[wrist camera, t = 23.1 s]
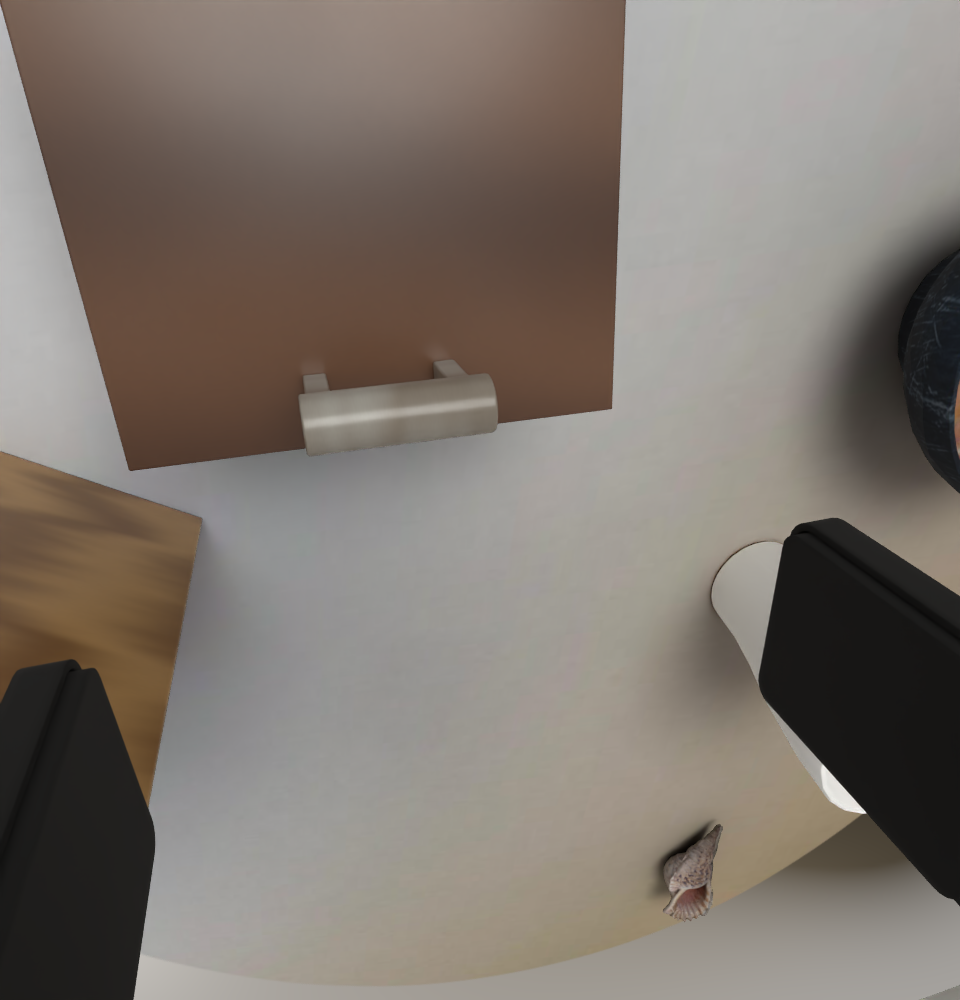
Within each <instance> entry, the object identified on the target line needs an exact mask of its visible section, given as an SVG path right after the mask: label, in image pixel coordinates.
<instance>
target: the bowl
mask: <svg viewBox="0 0 960 1000" xmlns="http://www.w3.org/2000/svg"><path fill="white" fill-rule="evenodd" d="M898 357H899V360H900V364H901V368H902V371H903V373H904V381H903V388H904V393H905V399H906V404H907V409H908V414H909V418H910V423H911V427H912V431H913V433H914V435H915V437H916V439H917V441H918V443H919V445H920V447H921V449H922V451H923V453H924V455H925V457H926V458H927V460H928V461H929V463H930V464H931V465H932V467H933V468H934V470H935V471H936V472H937V473H938V474H939V475H940V476H941V477H942V478H943V479H944V480H946V481H947V482H948V483H949V484H950V485H951V486H952V487H953V488H954V489H955V490H956V491H957V492H958V493H960V249H959V250H958V251H956V252H955V253H953V254H952V255H950V256H949V257H947V258H946V259H944V260H943V261H941V262H940V263H939V264H938V265H937V266H936V267H935V268H934V269H933V270H932V271H931V272H930V273H929V274H928V275H927V276H926V277H925V279H924V280H923V282H922V283H921V284H920V286H919V287H918V289H917V290H916V292H915V293H914V295H913V296H912V298H911V300H910V302H909V305H908V307H907V309H906V311H905V313H904V316H903V319H902V323H901V327H900V331H899V335H898Z"/></svg>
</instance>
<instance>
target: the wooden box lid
mask: <svg viewBox="0 0 960 1000" xmlns="http://www.w3.org/2000/svg"><path fill="white" fill-rule="evenodd" d="M0 4H1V8H2V12H3V15H4V19H5V22H6V26H7V30H8V33H9V37H10V41H11V44H12V48H13V51H14V55H15V59H16V62H17V66H18V70H19V73H20V77H21V80H22V84H23V88H24V91H25V95H26V98H27V102H28V106H29V109H30V113H31V117H32V120H33V124H34V127H35V131H36V135H37V138H38V142H39V146H40V149H41V153H42V156H43V160H44V164H45V167H46V171H47V175H48V178H49V182H50V185H51V189H52V193H53V196H54V200H55V203H56V207H57V211H58V214H59V218H60V222H61V225H62V229H63V232H64V236H65V240H66V243H67V247H68V251H69V254H70V258H71V261H72V265H73V269H74V272H75V276H76V280H77V283H78V287H79V290H80V294H81V298H82V301H83V305H84V309H85V312H86V316H87V319H88V323H89V327H90V330H91V334H92V337H93V341H94V345H95V348H96V352H97V356H98V359H99V363H100V366H101V370H102V374H103V377H104V381H105V385H106V388H107V392H108V395H109V399H110V403H111V406H112V410H113V414H114V417H115V421H116V424H117V428H118V432H119V435H120V439H121V442H122V446H123V450H124V453H125V457H126V461H127V464H128V468H129V470H130V471H134V470H141V469H149V468H157V467H165V466H172V465H180V464H188V463H196V462H203V461H211V460H219V459H227V458H235V457H242V456H250V455H258V454H266V453H273V452H281V451H289V450H297V449H304V448H306V452H307V455H308V456H316V455H324V454H332V453H339V452H347V451H355V450H362V449H370V448H377V447H385V446H393V445H400V444H408V443H416V442H423V441H431V440H438V439H446V438H454V437H461V436H469V435H476V434H484V433H492V432H494V431H495V430H496V428H497V424H499V423H506V422H514V421H522V420H530V419H537V418H545V417H553V416H561V415H569V414H576V413H584V412H592V411H600V410H607V409H612V391H613V361H614V331H615V302H616V272H617V242H618V213H619V183H620V153H621V124H622V94H623V64H624V35H625V5H626V0H0Z"/></svg>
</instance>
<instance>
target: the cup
mask: <svg viewBox="0 0 960 1000" xmlns="http://www.w3.org/2000/svg"><path fill="white" fill-rule="evenodd" d="M782 547H783V545H782V544H780V543H777V542H767V541H766V542H761V543H756V544H753V545H750V546H748V547H746V548H744V549H742V550H741V551H739V552H738V553H736V554H735V555H733V556H732V557H731V558H730V559H729V560H728V561H727V562H726V563H725V564H724V565H723V567H722V568H721V570H720V571H719V573H718V574H717V576H716V579H715V581H714V584H713V586H712V595H711V598H712V603H713V607H714V609H715V610H716V612H717V614H718V615H719V616H720V618H721V619H722V620H723V622H724V623H725V625H726V626H727V627H728V629H729V630H730V631H731V633H732V634H733V636H734V637H735V639H736V640H737V642H738V644H739V646H740V648H741V650H742V652H743V654H744V655H745V657H746V659H747V661H748V663H749V665H750V667H751V669H752V672H753V674H754V676H755V678H756V681H757V683H758V685H759V682H758V677H759V671H760V665H761V660H762V654H763V649H764V644H765V638H766V633H767V628H768V622H769V617H770V611H771V606H772V601H773V595H774V590H775V585H776V579H777V574H778V568H779V563H780V558H781V552H782ZM765 701H766V700H765ZM766 703H767V702H766ZM767 704H768V703H767ZM768 706H769V708H770V710H771V711H772V713H773V715H774V717H775V718H776V720H777V722H778V724H779V726H780V727H781V729H782V731H783V733H784V734H785V736H786V738H787V740H788V742H789V743H790V745H791V747H792V749H793V750H794V752H795V753H796V755H797V757H798V758H799V760H800V761H801V763H802V764H803V766H804V767H805V768H806V770H807V771H808V773H809V774H810V775H811V777H812V778H813V779H814V781H815V782H816V784H817V785H818V786H819V788H820V789H821V791H822V792H823V793H824V795H825V796H826V797H827V799H828V800H829V801H830V802H832V803H833V804H835V805H836V806H838V807H840V808H841V809H843V810H846V811H852V812H857V813H862V814H865V813H866V812H865V811H864V810H863V809H862V807H861V806H860V805H859V804H858V803H857V802H856V801H855V800H854V799H853V797H852V796H851V795H850V794H849V793H848V792H847V791H846V790H845V789H844V787H843V786H842V785H841V784H840V783H839V782H838V781H837V780H836V779H835V777H834V776H833V775H832V774H831V773H830V772H829V771H828V770H827V769H826V767H825V766H824V765H823V764H822V763H821V762H820V761H819V760H818V759H817V757H816V756H815V755H814V754H813V753H812V752H811V751H810V750H809V749H808V747H807V746H806V745H805V744H804V743H803V742H802V741H801V740H800V739H799V737H798V736H797V735H796V734H795V733H794V732H793V731H792V730H791V729H790V727H789V726H788V725H787V724H786V723H785V722H784V721H783V720H782V719H781V717H780V716H779V715H778V714H777V713H776V712H775V711H774V710H773V709H772V707H771V706H770V705H769V704H768Z"/></svg>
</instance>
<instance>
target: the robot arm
mask: <svg viewBox="0 0 960 1000" xmlns="http://www.w3.org/2000/svg"><path fill="white" fill-rule="evenodd" d="M758 682H759V687H760V691H761V693H762V695H763V697H764V699H765V700H766V702H767V703H768V704H769V705H770V706H771V707H772V709H773V710H774V711H775V712H776V713H777V714H778V715H779V716H780V717H781V719H782V720H783V721H784V722H785V723H786V724H787V725H788V726H789V727H790V729H791V730H792V731H793V732H794V733H795V734H796V735H797V736H798V737H799V739H800V740H801V741H802V742H803V743H804V744H805V745H806V746H807V747H808V749H809V750H810V751H811V752H812V753H813V754H814V755H815V756H816V757H817V759H818V760H819V761H820V762H821V763H822V764H823V765H824V766H825V767H826V769H827V770H828V771H829V772H830V773H831V774H832V775H833V776H834V777H835V779H836V780H837V781H838V782H839V783H840V784H841V785H842V786H843V787H844V789H845V790H846V791H847V792H848V793H849V794H850V795H851V796H852V797H853V799H854V800H855V801H856V802H857V803H858V804H859V805H860V806H861V807H862V809H863V810H864V811H865V812H866V813H867V814H868V815H869V816H870V817H871V819H872V820H873V821H874V822H875V823H876V824H877V825H878V826H879V827H880V829H882V831H883V832H884V833H885V834H886V835H887V836H888V837H889V839H890V840H891V841H892V842H893V843H894V844H895V845H896V846H897V847H898V848H899V850H900V851H901V852H902V853H903V854H904V855H905V856H906V857H907V859H908V860H909V861H910V862H911V863H912V864H913V865H914V866H915V867H916V868H917V870H918V871H919V872H920V873H921V874H922V875H923V876H924V877H925V879H926V880H927V881H928V882H929V883H930V884H931V885H932V886H933V887H934V888H935V889H936V890H937V891H938V892H939V893H940V894H942V895H943V896H945V897H947V898H950V899H954V900H955V901H956V902H957V903H958V905H959V906H960V596H959V595H957V594H956V593H954V592H953V591H951V590H950V589H948V588H946V587H945V586H943V585H942V584H940V583H939V582H937V581H936V580H934V579H933V578H931V577H930V576H928V575H927V574H925V573H924V572H922V571H920V570H919V569H917V568H916V567H914V566H913V565H911V564H910V563H908V562H907V561H905V560H904V559H902V558H901V557H899V556H898V555H896V554H894V553H893V552H891V551H890V550H888V549H887V548H885V547H884V546H882V545H881V544H879V543H878V542H876V541H875V540H873V539H872V538H870V537H869V536H867V535H865V534H864V533H862V532H861V531H859V530H858V529H856V528H855V527H853V526H852V525H850V524H849V523H847V522H846V521H844V520H841V519H839V518H829V519H823V520H818V521H813V522H807V523H802V524H799V525H797V526H796V527H795V528H794V529H793V530H792V532H791V535H790V536H789V537H787V538H786V540H785V541H784V544H783V547H782V552H781V558H780V563H779V568H778V574H777V579H776V585H775V590H774V595H773V601H772V606H771V611H770V617H769V622H768V628H767V633H766V638H765V644H764V649H763V654H762V660H761V665H760V671H759V677H758ZM154 855H155V831H154V825H153V821H152V818H151V815H150V812H149V809H148V807H147V804H146V801H145V798H144V796H143V793H142V790H141V787H140V785H139V782H138V779H137V776H136V774H135V771H134V768H133V765H132V762H131V760H130V757H129V754H128V751H127V749H126V746H125V743H124V740H123V738H122V735H121V732H120V729H119V727H118V724H117V721H116V718H115V716H114V713H113V710H112V707H111V705H110V702H109V699H108V696H107V693H106V691H105V688H104V685H103V682H102V680H101V677H100V675H99V673H98V671H97V670H96V669H95V668H87V669H81V667H80V665H79V663H78V662H77V661H76V660H73V659H68V660H63V661H58V662H52V663H47V664H42V665H36V666H31V667H25V668H21V669H19V670H17V671H16V672H15V674H14V675H13V677H12V679H11V681H10V683H9V686H8V688H7V690H6V692H5V694H4V697H3V699H2V701H1V703H0V1000H133V999H134V992H135V985H136V978H137V971H138V964H139V957H140V951H141V944H142V937H143V930H144V923H145V916H146V910H147V903H148V896H149V889H150V882H151V875H152V868H153V861H154ZM921 1000H960V985H959V986H956V987H954V988H951V989H948V990H945V991H943V992H940V993H937V994H935V995H932V996H929V997H926V998H923V999H921Z"/></svg>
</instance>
